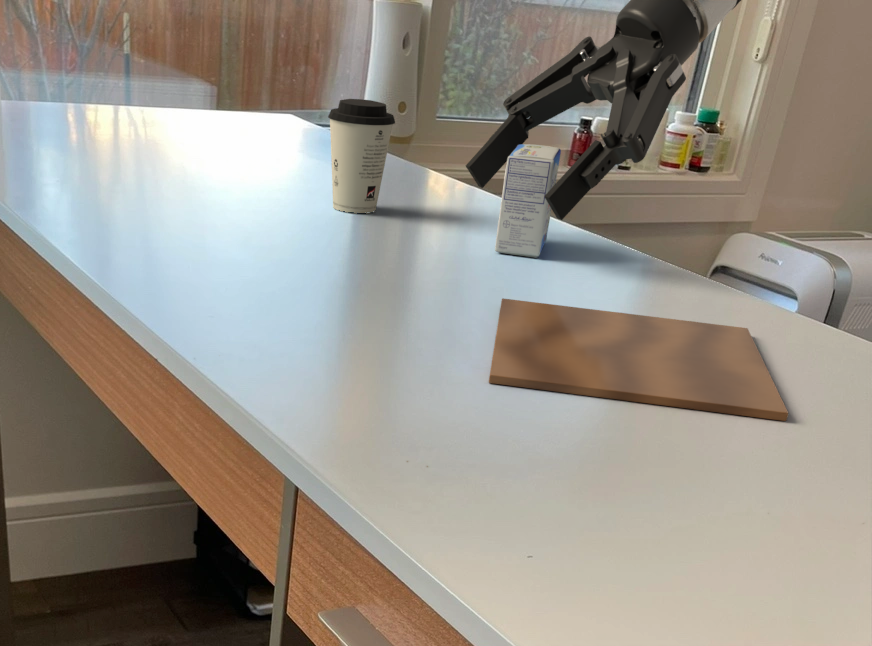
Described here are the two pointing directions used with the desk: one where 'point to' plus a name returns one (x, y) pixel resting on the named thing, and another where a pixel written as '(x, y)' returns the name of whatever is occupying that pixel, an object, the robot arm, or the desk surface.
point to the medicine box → (526, 200)
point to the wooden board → (633, 359)
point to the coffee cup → (358, 153)
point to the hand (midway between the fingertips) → (511, 192)
